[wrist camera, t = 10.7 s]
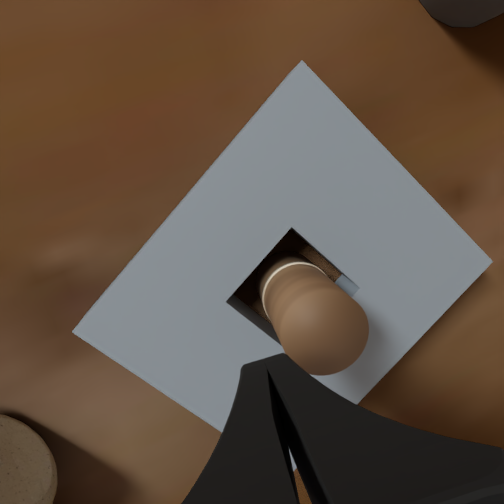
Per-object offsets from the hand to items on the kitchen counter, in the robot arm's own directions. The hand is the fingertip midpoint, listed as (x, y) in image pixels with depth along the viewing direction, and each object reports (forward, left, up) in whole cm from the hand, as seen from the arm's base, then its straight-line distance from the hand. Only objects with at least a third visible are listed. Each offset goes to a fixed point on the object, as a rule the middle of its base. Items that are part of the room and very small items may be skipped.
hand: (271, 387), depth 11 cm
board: (-2, -2, -10) cm, 10 cm away
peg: (-2, -2, -10) cm, 10 cm away
